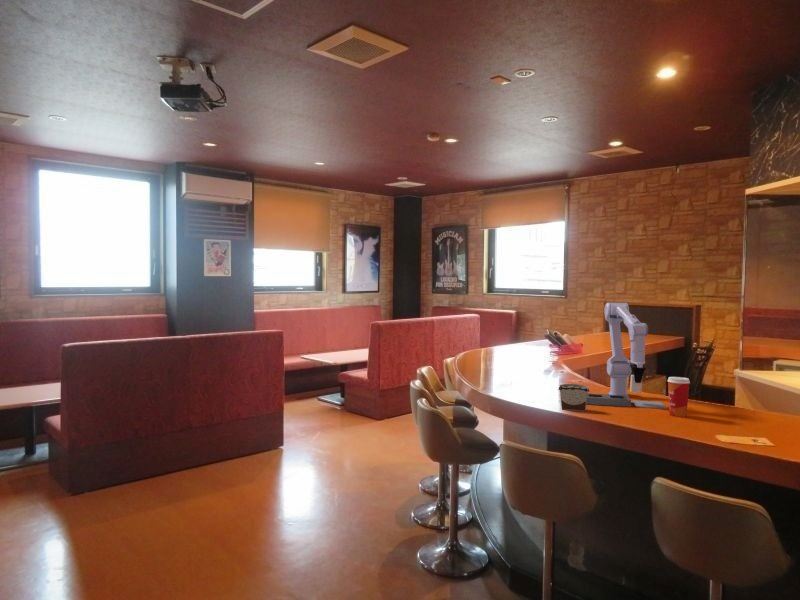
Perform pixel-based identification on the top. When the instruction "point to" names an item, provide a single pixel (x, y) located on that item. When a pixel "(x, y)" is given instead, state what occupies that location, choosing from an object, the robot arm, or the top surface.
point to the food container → (573, 397)
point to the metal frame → (608, 400)
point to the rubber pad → (648, 404)
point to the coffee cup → (678, 396)
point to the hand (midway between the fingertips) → (637, 382)
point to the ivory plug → (635, 385)
